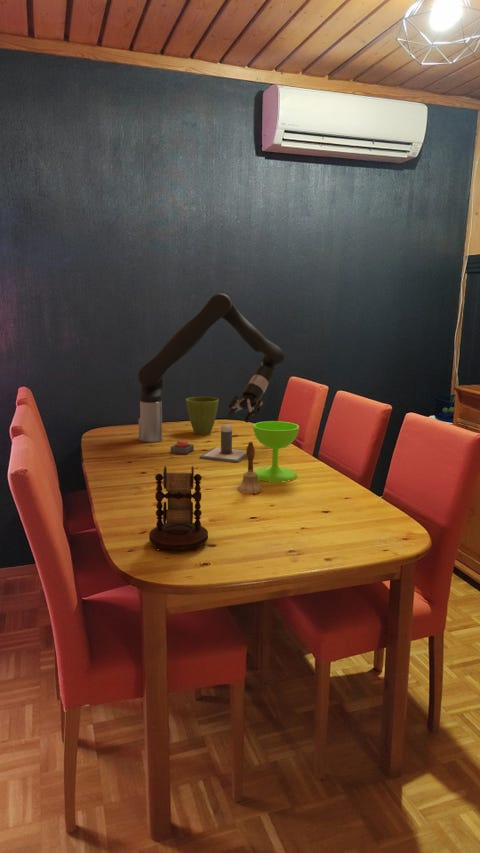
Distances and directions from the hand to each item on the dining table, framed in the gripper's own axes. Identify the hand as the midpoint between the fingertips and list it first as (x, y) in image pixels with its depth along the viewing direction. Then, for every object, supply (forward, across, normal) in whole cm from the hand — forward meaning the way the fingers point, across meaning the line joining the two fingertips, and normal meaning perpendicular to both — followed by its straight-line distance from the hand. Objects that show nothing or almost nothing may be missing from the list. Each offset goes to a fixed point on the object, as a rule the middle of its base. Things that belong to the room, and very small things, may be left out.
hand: (237, 419), depth 232 cm
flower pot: (-1, -34, +21) cm, 40 cm away
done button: (+18, -17, -2) cm, 25 cm away
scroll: (+65, +47, -45) cm, 92 cm away
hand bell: (+33, +34, -13) cm, 49 cm away
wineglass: (+20, +30, -1) cm, 36 cm away
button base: (+20, -17, 0) cm, 26 cm away
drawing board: (+14, 0, +5) cm, 15 cm away
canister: (+13, 0, +4) cm, 14 cm away
